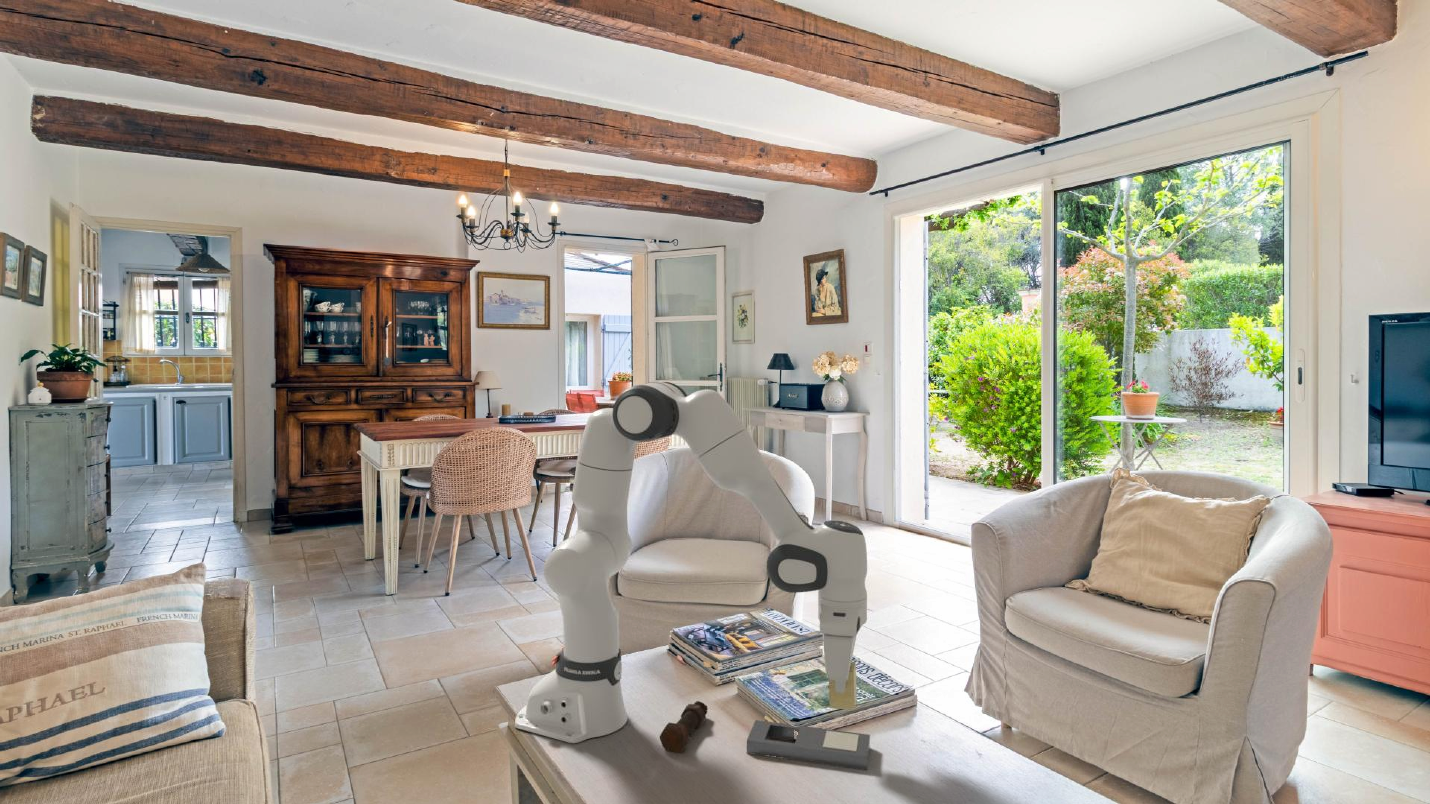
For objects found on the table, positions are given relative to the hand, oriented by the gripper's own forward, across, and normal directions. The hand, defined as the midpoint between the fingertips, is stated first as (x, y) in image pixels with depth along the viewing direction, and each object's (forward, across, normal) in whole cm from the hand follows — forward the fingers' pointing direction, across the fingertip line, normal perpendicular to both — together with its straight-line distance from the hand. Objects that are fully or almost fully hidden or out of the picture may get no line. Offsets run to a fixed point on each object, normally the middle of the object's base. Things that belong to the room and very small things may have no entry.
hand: (842, 684), depth 137 cm
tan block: (+4, 0, 0) cm, 4 cm away
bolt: (+14, 0, -30) cm, 33 cm away
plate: (+13, 0, -6) cm, 15 cm away
